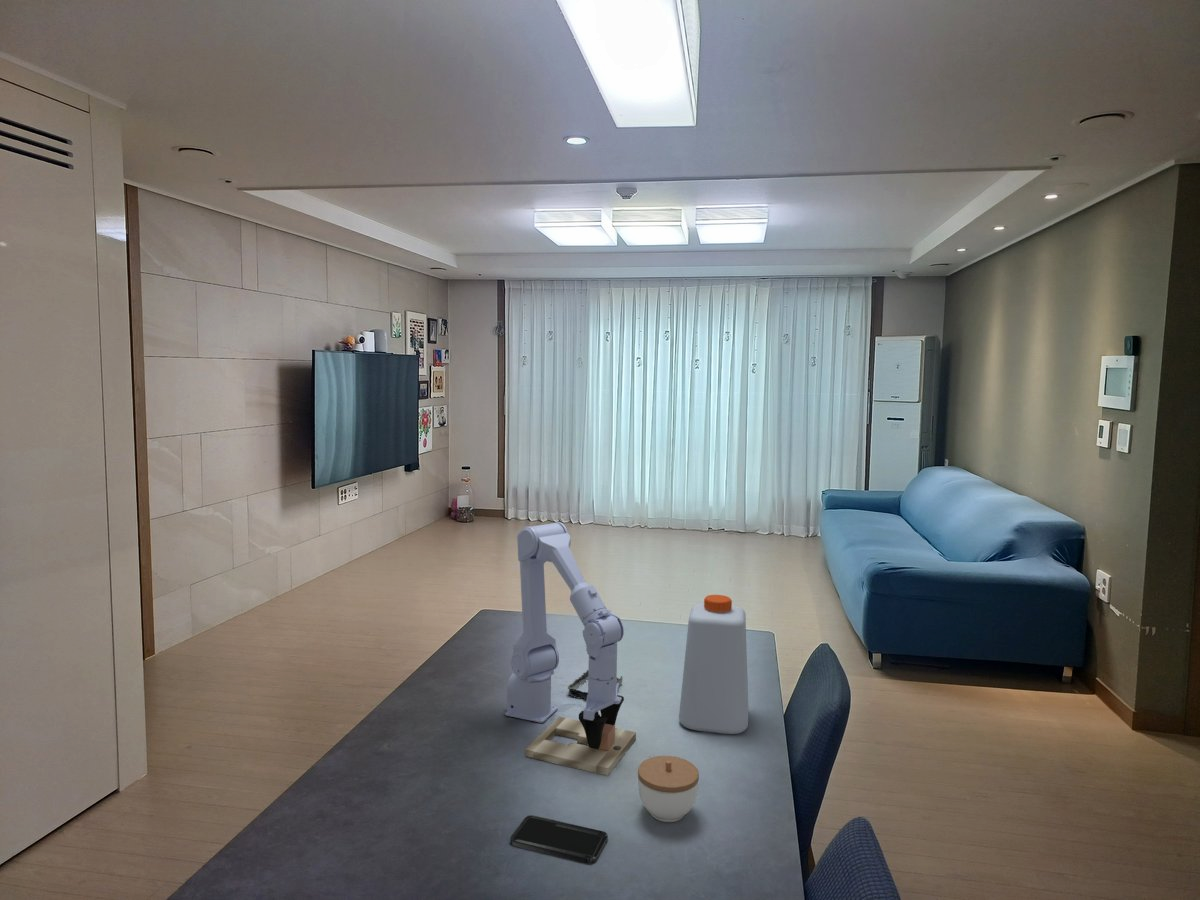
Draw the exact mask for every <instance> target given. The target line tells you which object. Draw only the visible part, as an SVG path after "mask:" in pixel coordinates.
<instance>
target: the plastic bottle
mask: <svg viewBox="0 0 1200 900" xmlns="http://www.w3.org/2000/svg"><path fill="white" fill-rule="evenodd" d="M732 604H733V600H732V599H731V598H730V597H729V596H727V595H722V594H709V595H706V596H705V597H704V601H703V603H695V604H694V605H693V606H692V608H691V610H690V612H689V616H688V624H687V632H686V643H685V651H684V653H685V654H684V661H683V662H684V663H683V664H684V665H683V673H682V683H681V693H680V703H679V713H678V714H679V715H678V720H679V722H680V723H681V725H682V726H683V727H684V728H687V729H689V730H691V731H695V732H696V731H697V732H698V731H699V732H706V733H716V734H725V735H739V734H741V733H743V732H745V731H746V730H747V728H748V725H749V712H750V711H749V709H750V708H749V688H748V687H749V684H748V683H749V681H748V680H749V679H748V652H747V624H746V623H747V622H746V621H747V620H746V612H745V610H744V609H743V607H740V606H737V605H732Z"/></svg>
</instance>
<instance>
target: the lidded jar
mask: <svg viewBox="0 0 1200 900" xmlns="http://www.w3.org/2000/svg"><path fill="white" fill-rule="evenodd" d="M699 773H700V772H699V769H698V768H697V766H696V765H695V764H693V763H692V762H691V761H689V760H688V759H687V760H686V758H685V759H684V758H681V757H679V756H678V757H677V756H674V755H673V756H672V755H658V756H652V757H648V758H646V759H644V760H643V761H641V763H640V764H639V766H638V767H637V777H638V780H637V781H638V782H637V785H638V795H639V797H640V800H641V803H642V805H643V807H644V808H645V809H646V810H647V812H648V813H650V816H652V818H653V819H655V820H657V821H659V822H663V823H675V822H678V821H680V820H682V819H683V817H684V816H685V815H687V814H688V813H689V812H690V811H691V809H692V807H694V804H695V802H696V800H697V799H696V798H697V796H698V789H699V788H698V787H699V786H698V785H699V779H700V777H699V776H700V774H699Z"/></svg>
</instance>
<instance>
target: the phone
mask: <svg viewBox="0 0 1200 900" xmlns="http://www.w3.org/2000/svg"><path fill="white" fill-rule="evenodd" d="M608 835H609V834H608V833H607V832H605V831H603V830H599V829H595V828H589V827H587V826H586V827H585V826H581V825H577V824H572V823H569V822H564V821H560V820H555V819H550V818H546V817H541V816H537V815H532V814H531V815H527V816H525V817H524V818H523V819H522V821H521V822H520V823H519V825H518V826H517V827H516V829H515V830H514V832H513V833H512V834H511V836H510V839H509V840H510V842H509V843H510V845H512V846H513V847H517V848H521V849H525V850H530V851H534V852H538V853H542V854H546V855H549V856H553V857H554V856H555V857H558V858H562V859H567V860H571V861H574V862H579V863H583V864H588V865H590V864H591V865H592V864H594V863H596V862H597V860H598V859H599V856H600V855H601V854H602V852H603V850H604V848H605V846H606V844H607V842H608V840H609V839H608V838H609V837H608Z"/></svg>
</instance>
